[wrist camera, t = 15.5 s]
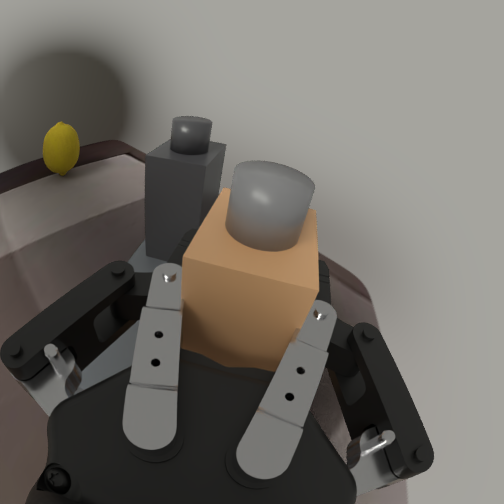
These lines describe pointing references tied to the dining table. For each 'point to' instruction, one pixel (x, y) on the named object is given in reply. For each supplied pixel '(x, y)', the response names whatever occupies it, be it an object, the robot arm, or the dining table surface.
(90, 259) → the dining table surface
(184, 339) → the plug
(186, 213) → the gray post stand
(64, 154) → the lemon
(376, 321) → the dining table surface
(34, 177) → the dining table surface
